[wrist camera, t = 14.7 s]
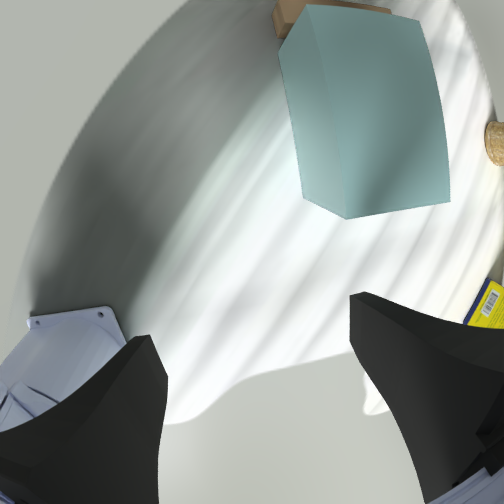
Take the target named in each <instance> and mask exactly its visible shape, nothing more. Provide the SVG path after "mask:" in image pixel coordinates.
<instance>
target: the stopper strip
mask: <svg viewBox="0 0 504 504" xmlns="http://www.w3.org/2000/svg"><path fill="white" fill-rule="evenodd" d="M306 4H311V5H328V6H340V7H349V8H357V9H364V10H370V11H376V12H382V13H387V14H391V11H390V9H386V8H381V7H376V6H371V5H364V4H358V3H351V2H342V1H332V0H278V1H277V3H276V6H275V8H274V11H273V13H272V19H273V23H274V27H275V31H276V35H277V38H286V37H287V36H288V34H289V32H290V30H291V29H292V27H293V25H294V24H295V22H296V20H297V19H298V17H299V15H300V14H301V12H302V11H303V9H304V7H305V6H306Z"/></svg>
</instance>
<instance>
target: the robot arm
mask: <svg viewBox="0 0 504 504" xmlns="http://www.w3.org/2000/svg"><path fill="white" fill-rule="evenodd" d="M99 312H101V313H103V315H101V314H100V313H99ZM38 321H39V322H38ZM27 324H28V326H29V328H30V331H29V332H28V333H27V334H26V335H25V336H24V337H23V339H22V340H21V341H20V342H19V343H18V344H17V346H16V347H15V348H14V349H13V350H12V351H11V353H10V354H9V355H8V356H7V357H6V359H5V360H4V361H3V362H2V364H1V365H0V504H159V497H158V453H159V445H160V438H161V433H162V427H163V421H164V416H165V410H166V404H167V393H168V375H167V373H166V371H165V369H164V367H163V364H162V362H161V360H160V358H159V355H158V353H157V351H156V348H155V346H154V344H153V341H152V339H151V336H150V335H143V336H135V337H134V338H132V339H131V340H130V341H129V342H128V343H126V341H125V338H124V336H123V334H122V332H121V329H120V327H119V325H118V322H117V320H116V317H115V315H114V313H113V310H112V309H111V308H110V307H108V306H102V307H96V308H89V309H83V310H76V311H69V312H62V313H55V314H48V315H41V316H33V317H29V318H28V319H27ZM350 343H351V345H352V347H353V349H354V352H355V354H356V356H357V358H358V360H359V362H360V363H361V365H362V366H363V368H364V369H365V371H366V373H367V374H368V376H369V377H370V379H371V380H372V382H373V383H374V385H375V386H376V388H377V389H378V391H379V392H380V394H381V395H382V397H383V398H384V400H385V401H386V403H387V405H388V406H389V408H390V410H391V412H392V414H393V416H394V418H395V420H396V422H397V424H398V426H399V428H400V431H401V433H402V435H403V438H404V440H405V443H406V445H407V447H408V450H409V453H410V455H411V458H412V461H413V464H414V467H415V469H416V472H417V476H418V479H419V483H420V486H421V490H422V494H423V498H424V502H425V504H504V329H497V328H485V327H477V326H470V325H464V324H460V323H455V322H451V321H447V320H443V319H439V318H436V317H433V316H430V315H426V314H423V313H420V312H418V311H415V310H412V309H409V308H407V307H404V306H402V305H399V304H397V303H394V302H392V301H389V300H387V299H384V298H382V297H379V296H377V295H374V294H371V293H368V292H361V293H357V294H354V295H350Z"/></svg>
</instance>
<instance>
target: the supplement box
mask: <svg viewBox="0 0 504 504" xmlns="http://www.w3.org/2000/svg"><path fill="white" fill-rule="evenodd" d="M463 324H464V325H470V326H477V327H485V328H497V329H504V287H502V286H501V285H499V284H498V283H496V282H494V281H493V280H491V279H489V278H487V279H486V281H485V283H484V285H483V287H482V289H481V291H480V293H479V295H478V297H477V299H476V301H475V302H474V304H473V306H472V308H471V310H470V311H469V313H468V315H467V317H466V318H465V320H464V322H463Z"/></svg>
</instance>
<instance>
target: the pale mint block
mask: <svg viewBox="0 0 504 504" xmlns="http://www.w3.org/2000/svg"><path fill="white" fill-rule="evenodd" d="M278 57H279V62H280V66H281V71H282V76H283V81H284V86H285V91H286V96H287V101H288V106H289V112H290V117H291V123H292V129H293V134H294V140H295V146H296V153H297V159H298V165H299V172H300V179H301V186H302V193H303V198H304V199H306V200H308V201H310V202H312V203H314V204H316V205H318V206H320V207H322V208H324V209H326V210H328V211H330V212H332V213H334V214H336V215H338V216H340V217H342V218H344V219H346V220H347V219H353V218H359V217H364V216H370V215H376V214H382V213H387V212H393V211H399V210H405V209H411V208H417V207H423V206H429V205H435V204H441V203H447V202H450V176H449V161H448V149H447V140H446V132H445V125H444V118H443V112H442V106H441V100H440V95H439V90H438V86H437V81H436V77H435V73H434V69H433V65H432V61H431V57H430V54H429V50H428V47H427V43H426V40H425V37H424V34H423V31H422V28H421V25H420V22H419V21H417V20H413V19H409V18H405V17H401V16H396V15H392V14H387V13H382V12H376V11H370V10H364V9H357V8H349V7H340V6H328V5H311V4H306V6H305V7H304V9H303V11H302V12H301V14H300V15H299V17H298V19H297V20H296V22H295V24H294V25H293V27H292V29H291V30H290V32H289V34H288V36H287V37H286V39H285V41H284V43H283V44H282V46H281V48H280V50H279V51H278Z"/></svg>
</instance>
